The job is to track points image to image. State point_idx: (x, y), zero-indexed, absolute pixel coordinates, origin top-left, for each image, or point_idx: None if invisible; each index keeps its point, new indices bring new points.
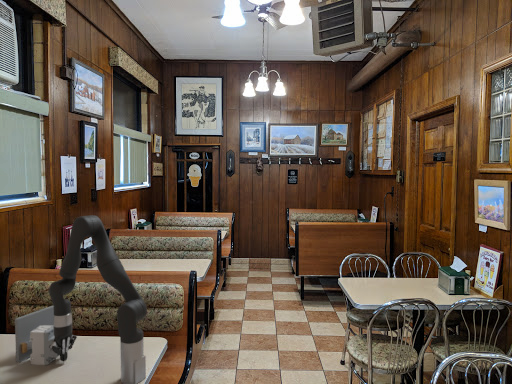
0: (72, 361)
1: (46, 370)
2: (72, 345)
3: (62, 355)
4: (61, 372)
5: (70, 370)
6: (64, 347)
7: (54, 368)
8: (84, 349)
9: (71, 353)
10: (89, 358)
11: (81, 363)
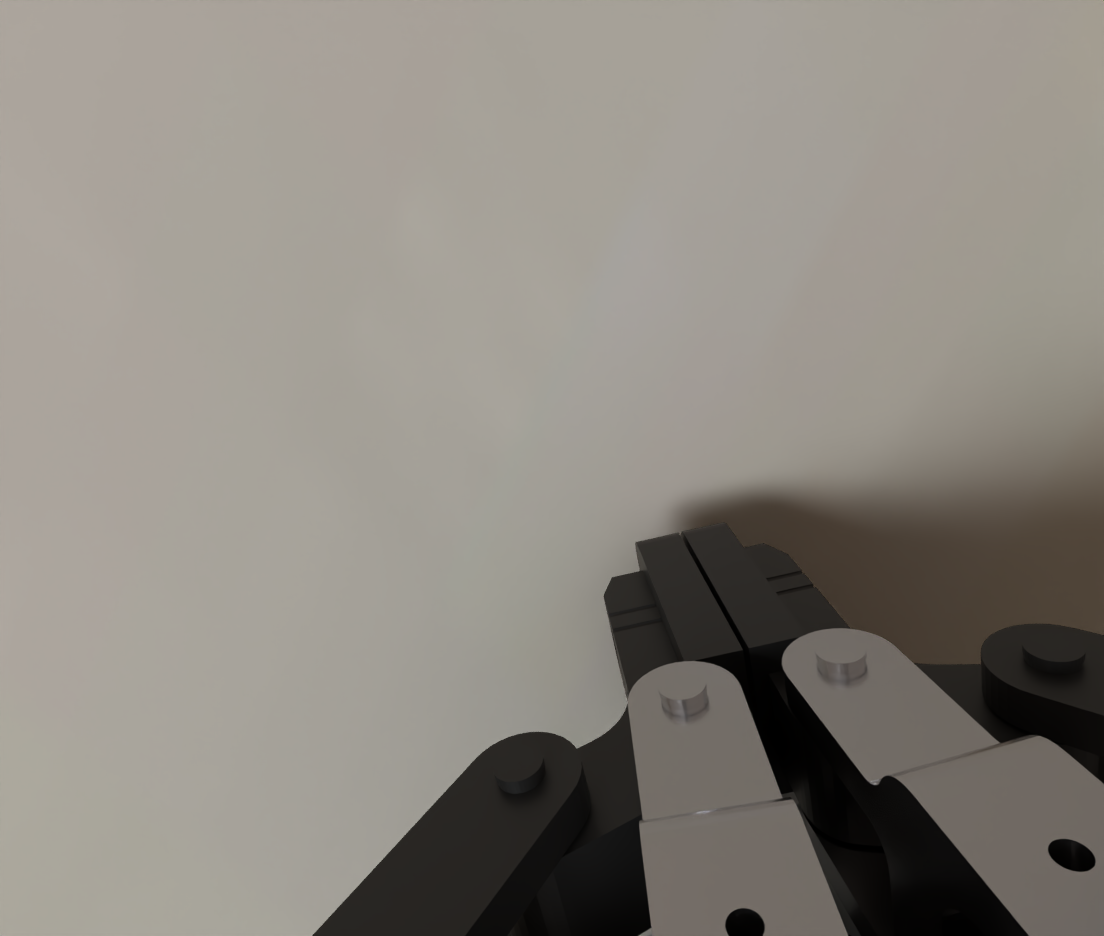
0: (479, 501)
1: (1039, 550)
2: (401, 854)
3: (820, 628)
4: (936, 170)
5: (750, 67)
6: (972, 793)
7: (901, 503)
8: (30, 826)
9: (328, 852)
10: (84, 305)
11: (366, 207)
